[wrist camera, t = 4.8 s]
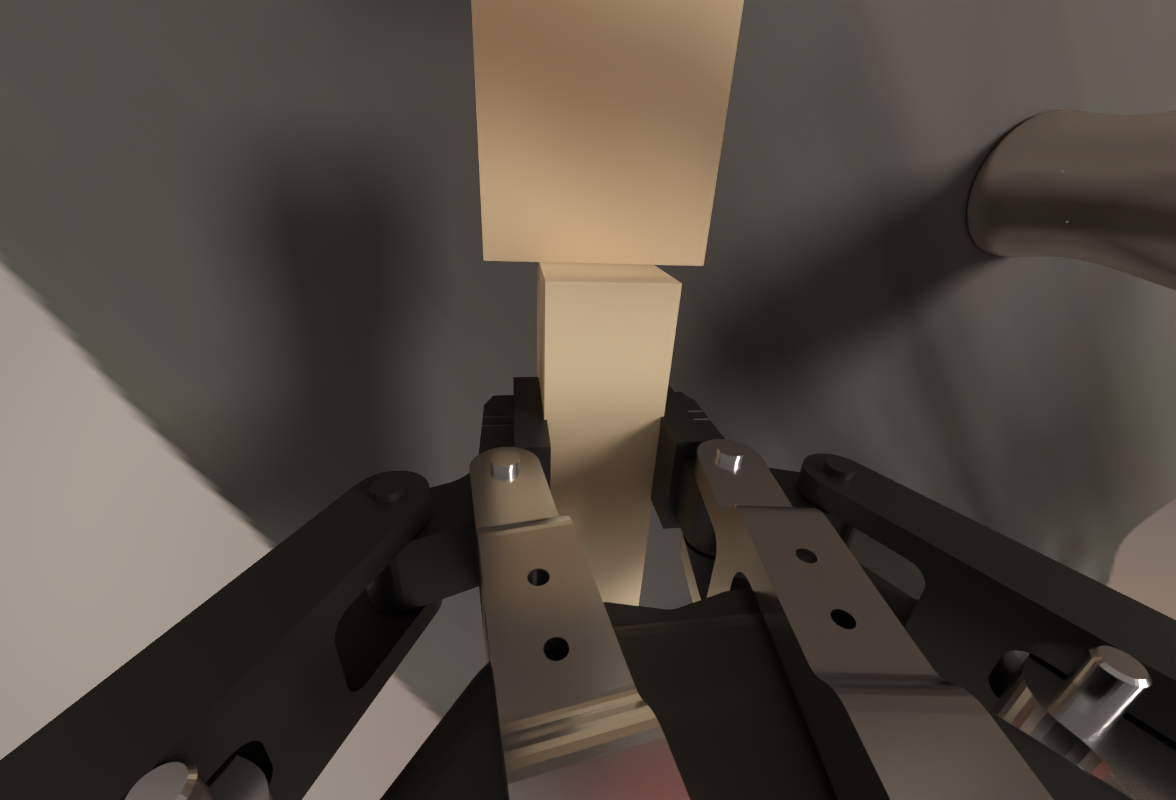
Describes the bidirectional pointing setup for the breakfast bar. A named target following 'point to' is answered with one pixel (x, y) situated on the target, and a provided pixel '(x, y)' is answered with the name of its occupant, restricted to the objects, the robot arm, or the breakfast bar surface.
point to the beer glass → (1083, 192)
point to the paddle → (602, 226)
